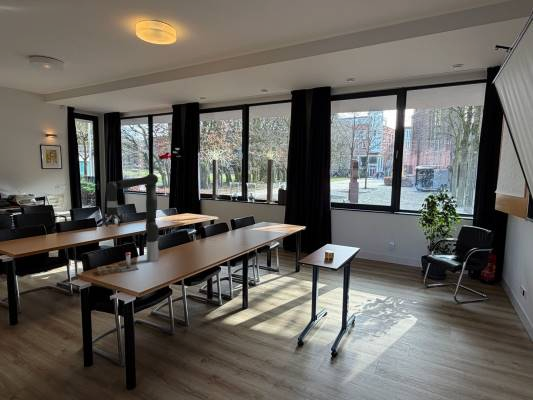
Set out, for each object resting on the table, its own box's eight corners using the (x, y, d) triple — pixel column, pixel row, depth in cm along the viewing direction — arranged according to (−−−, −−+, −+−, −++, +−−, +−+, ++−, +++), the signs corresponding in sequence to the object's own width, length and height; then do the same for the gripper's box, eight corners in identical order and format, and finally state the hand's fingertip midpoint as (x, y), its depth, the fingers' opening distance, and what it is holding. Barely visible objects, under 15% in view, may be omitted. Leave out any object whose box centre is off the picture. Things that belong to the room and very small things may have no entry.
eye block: (117, 268, 249) (116, 264, 248) (120, 272, 239) (120, 267, 239) (97, 271, 240) (97, 267, 240) (99, 275, 231) (99, 271, 231)
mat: (134, 266, 256) (134, 265, 256) (138, 269, 246) (138, 268, 246) (118, 268, 249) (118, 267, 248) (122, 272, 239) (122, 271, 239)
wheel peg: (130, 267, 250) (130, 252, 249) (131, 268, 247) (131, 253, 246) (125, 267, 248) (124, 252, 247) (126, 269, 245) (125, 253, 243)
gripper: (103, 207, 247) (104, 227, 248) (122, 206, 256) (123, 226, 257) (101, 206, 253) (102, 226, 254) (120, 205, 262) (121, 224, 263)
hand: (112, 226), depth 256 cm, fingers open, 8 cm apart
